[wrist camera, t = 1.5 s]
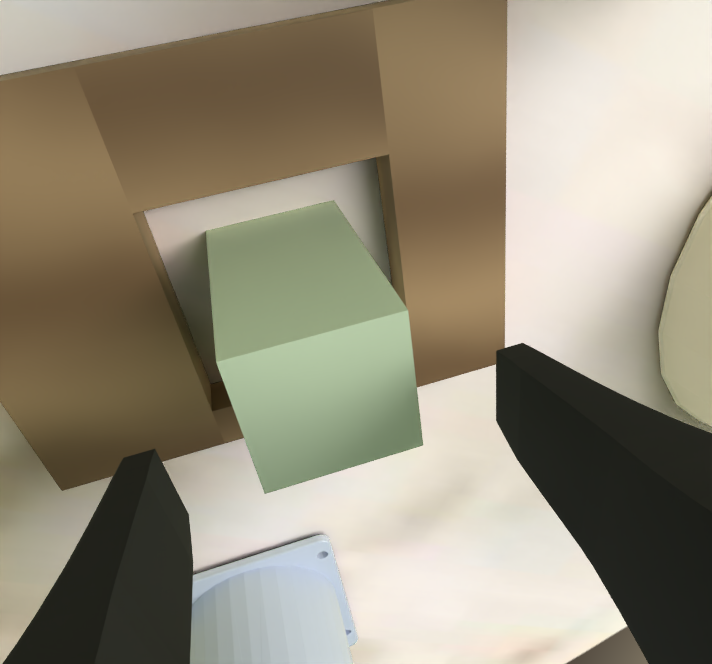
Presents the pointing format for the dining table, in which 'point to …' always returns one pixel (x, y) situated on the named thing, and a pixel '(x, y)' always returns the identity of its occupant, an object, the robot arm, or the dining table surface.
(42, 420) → the pocket board
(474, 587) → the dining table surface
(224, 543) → the dining table surface
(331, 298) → the block
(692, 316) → the kettle
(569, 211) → the dining table surface
